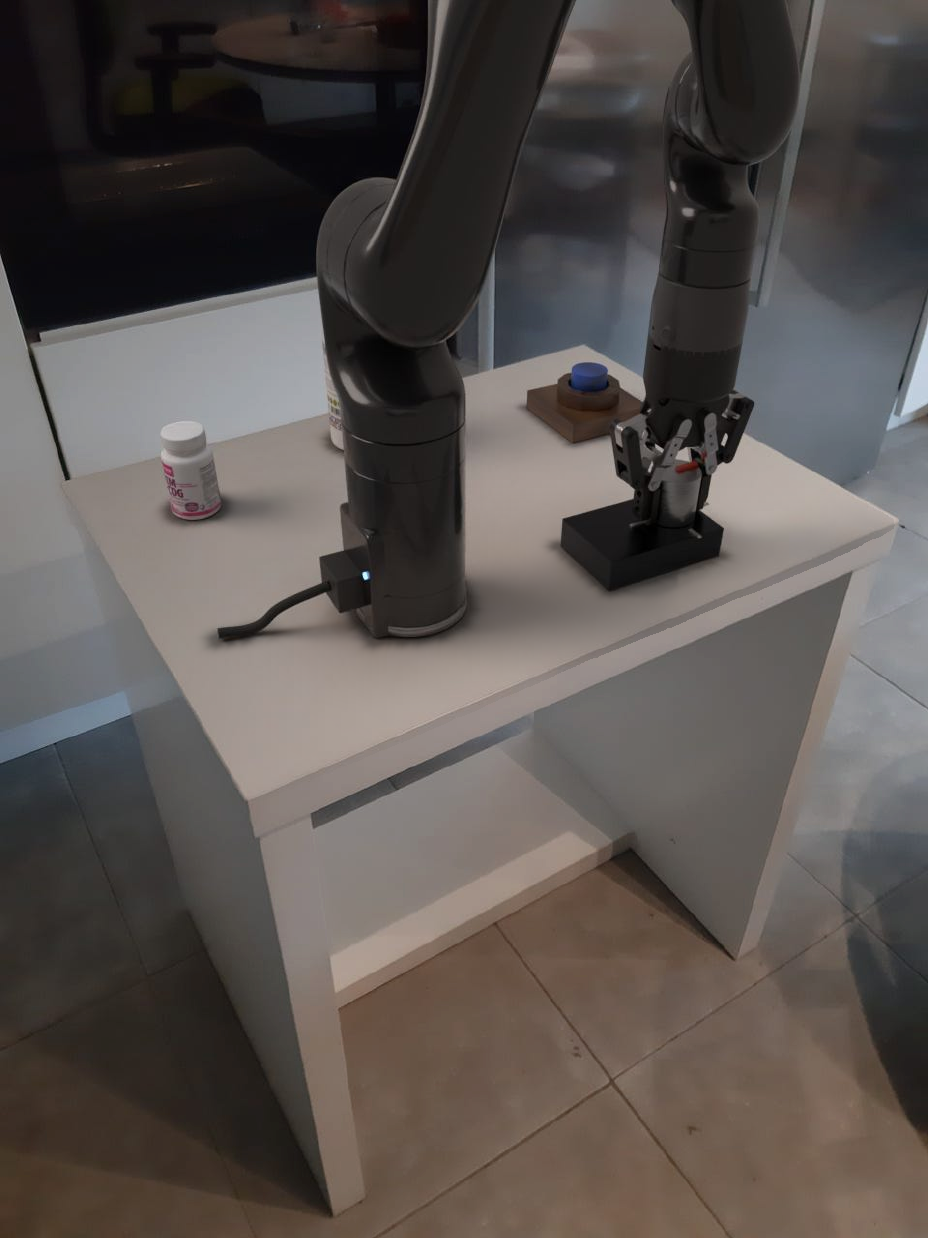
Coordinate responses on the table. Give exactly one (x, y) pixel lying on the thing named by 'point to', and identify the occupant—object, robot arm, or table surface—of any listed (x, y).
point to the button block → (582, 408)
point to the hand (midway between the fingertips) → (668, 512)
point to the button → (589, 377)
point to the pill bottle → (189, 471)
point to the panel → (636, 544)
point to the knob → (679, 494)
